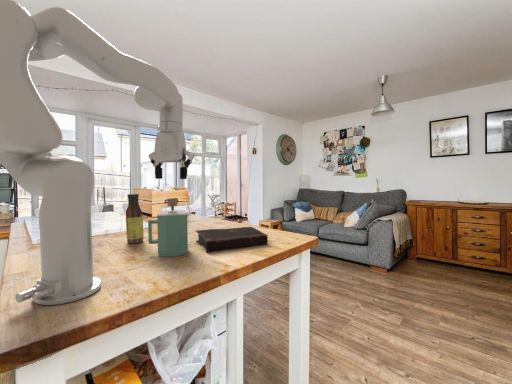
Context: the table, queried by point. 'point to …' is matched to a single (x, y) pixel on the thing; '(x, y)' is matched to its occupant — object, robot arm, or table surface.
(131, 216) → the sauce bottle
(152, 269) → the table surface
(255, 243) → the diary
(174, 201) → the plunger
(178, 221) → the press carafe
